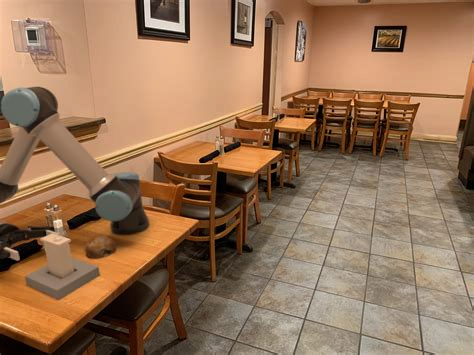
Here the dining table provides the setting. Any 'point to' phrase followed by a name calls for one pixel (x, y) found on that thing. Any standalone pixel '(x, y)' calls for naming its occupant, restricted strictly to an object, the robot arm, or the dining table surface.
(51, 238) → the cream block
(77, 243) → the dining table surface
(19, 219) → the dining table surface
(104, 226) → the dining table surface
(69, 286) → the frame
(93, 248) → the bread roll
